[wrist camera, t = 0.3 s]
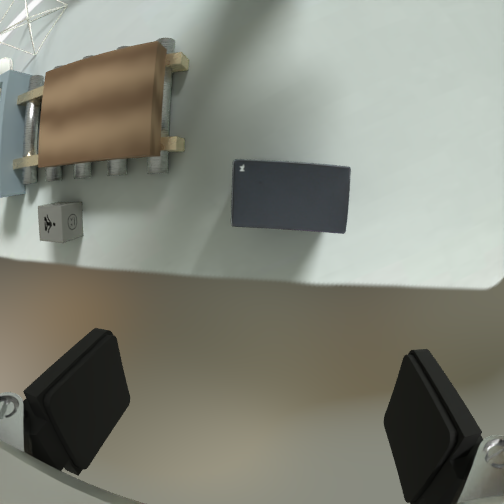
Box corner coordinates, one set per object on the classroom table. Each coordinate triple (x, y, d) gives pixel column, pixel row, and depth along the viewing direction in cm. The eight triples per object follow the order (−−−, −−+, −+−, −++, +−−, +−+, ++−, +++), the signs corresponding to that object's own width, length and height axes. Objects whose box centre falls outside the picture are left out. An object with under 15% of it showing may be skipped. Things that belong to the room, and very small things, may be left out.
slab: (58, 76, 32) (45, 72, 29) (166, 49, 30) (157, 40, 27) (51, 167, 36) (38, 167, 33) (160, 156, 34) (149, 155, 31)
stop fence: (16, 82, 36) (-6, 78, 30) (32, 75, 35) (9, 69, 29) (9, 195, 41) (-14, 199, 35) (25, 193, 40) (0, 197, 35)
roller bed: (31, 83, 36) (20, 81, 33) (190, 42, 33) (183, 34, 30) (25, 184, 40) (13, 185, 37) (184, 172, 37) (175, 172, 34)
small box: (243, 214, 38) (227, 229, 27) (245, 161, 36) (230, 156, 26) (330, 220, 37) (346, 237, 26) (334, 167, 35) (352, 163, 25)
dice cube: (59, 202, 40) (37, 206, 35) (82, 202, 40) (61, 206, 35) (60, 233, 41) (40, 240, 37) (83, 235, 41) (63, 242, 36)
